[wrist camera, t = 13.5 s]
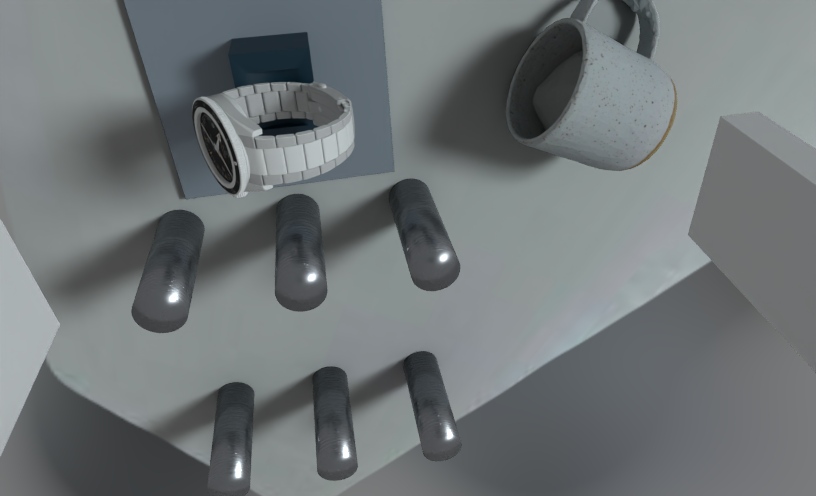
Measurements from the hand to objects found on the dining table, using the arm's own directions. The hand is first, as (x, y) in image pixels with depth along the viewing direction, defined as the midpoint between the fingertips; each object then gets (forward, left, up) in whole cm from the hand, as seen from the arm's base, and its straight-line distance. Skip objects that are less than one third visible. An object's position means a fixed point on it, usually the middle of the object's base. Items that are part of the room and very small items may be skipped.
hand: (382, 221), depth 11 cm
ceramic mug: (+7, +16, -28) cm, 33 cm away
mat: (+6, -4, -27) cm, 28 cm away
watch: (+6, -3, -27) cm, 28 cm away
